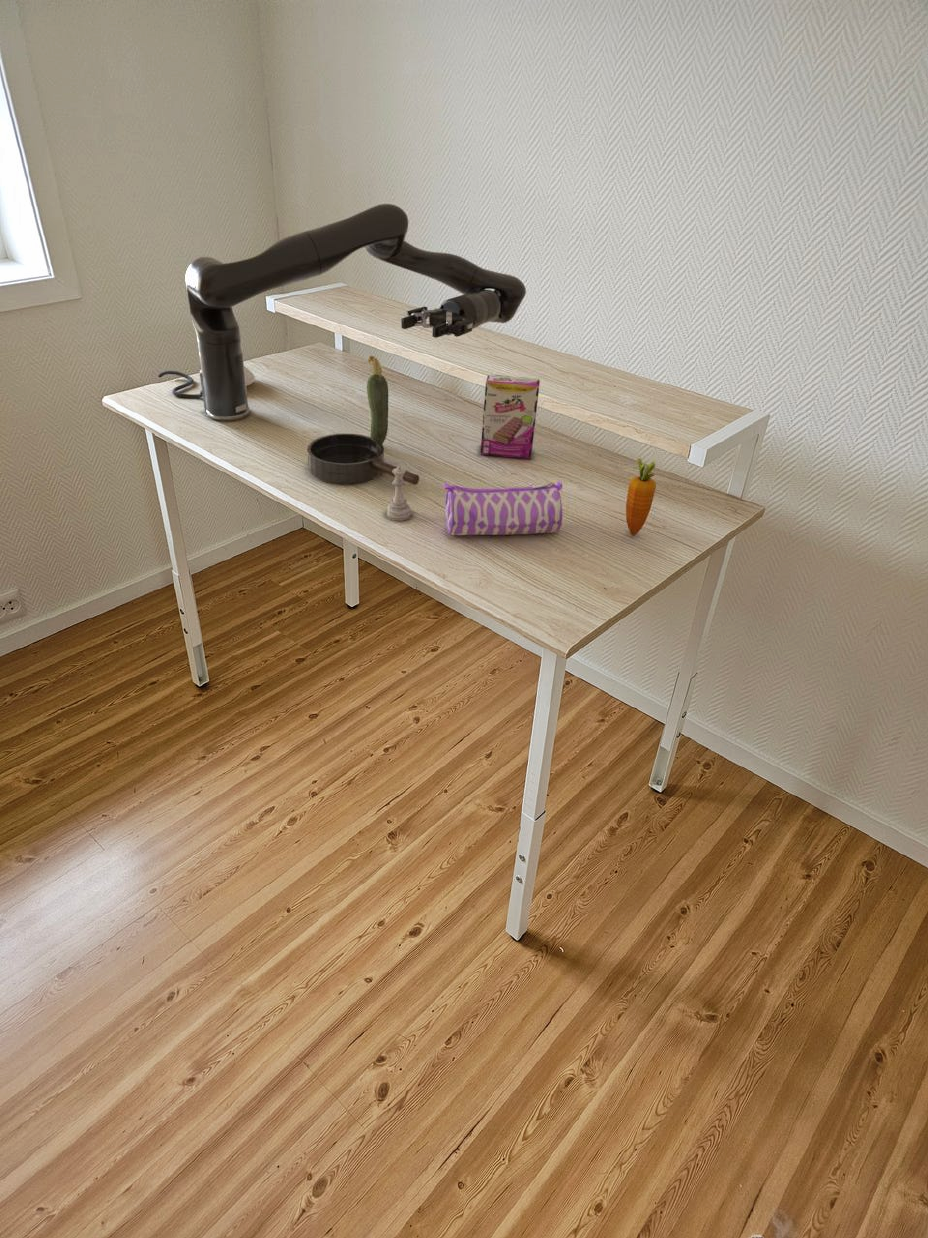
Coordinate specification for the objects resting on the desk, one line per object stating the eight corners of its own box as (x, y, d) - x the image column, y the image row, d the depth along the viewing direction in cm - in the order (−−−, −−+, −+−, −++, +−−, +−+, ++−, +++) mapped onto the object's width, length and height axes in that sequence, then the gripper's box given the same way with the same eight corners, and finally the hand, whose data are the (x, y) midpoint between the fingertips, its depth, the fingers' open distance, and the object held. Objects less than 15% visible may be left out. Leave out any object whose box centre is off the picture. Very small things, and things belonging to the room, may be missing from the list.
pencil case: (552, 515, 157) (558, 470, 152) (567, 540, 150) (574, 493, 145) (438, 522, 153) (439, 475, 148) (447, 548, 146) (449, 499, 140)
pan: (292, 469, 168) (290, 449, 166) (345, 447, 179) (344, 427, 176) (347, 493, 161) (347, 471, 158) (399, 467, 171) (399, 447, 169)
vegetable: (392, 447, 180) (392, 355, 168) (382, 454, 176) (381, 361, 165) (374, 442, 181) (373, 351, 170) (364, 449, 178) (362, 357, 166)
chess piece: (384, 511, 156) (383, 462, 150) (406, 508, 157) (406, 459, 151) (391, 522, 152) (390, 472, 146) (413, 519, 154) (414, 469, 148)
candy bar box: (479, 455, 178) (484, 381, 169) (481, 446, 182) (486, 373, 173) (531, 460, 177) (539, 385, 168) (532, 450, 182) (540, 377, 172)
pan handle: (370, 469, 164) (369, 460, 163) (376, 466, 165) (376, 457, 164) (412, 486, 159) (412, 476, 158) (419, 482, 160) (419, 473, 159)
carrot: (616, 528, 154) (629, 453, 146) (642, 528, 155) (657, 454, 146) (623, 542, 150) (637, 465, 142) (649, 542, 151) (665, 466, 142)
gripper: (439, 289, 186) (392, 303, 175) (491, 301, 179) (445, 316, 169) (438, 323, 190) (392, 338, 180) (489, 336, 184) (444, 353, 173)
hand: (418, 328), depth 174 cm, fingers open, 8 cm apart
